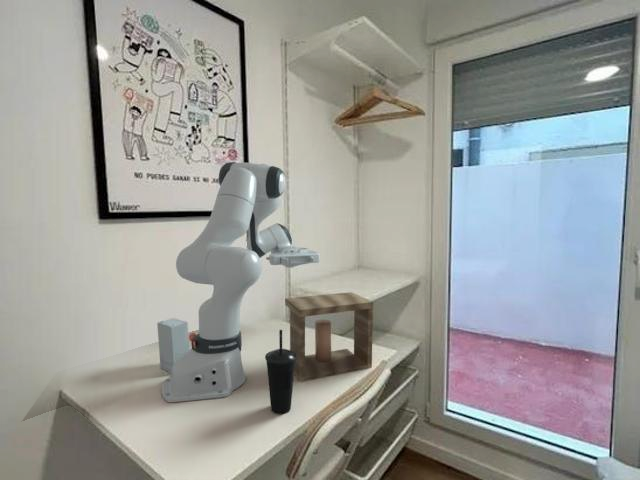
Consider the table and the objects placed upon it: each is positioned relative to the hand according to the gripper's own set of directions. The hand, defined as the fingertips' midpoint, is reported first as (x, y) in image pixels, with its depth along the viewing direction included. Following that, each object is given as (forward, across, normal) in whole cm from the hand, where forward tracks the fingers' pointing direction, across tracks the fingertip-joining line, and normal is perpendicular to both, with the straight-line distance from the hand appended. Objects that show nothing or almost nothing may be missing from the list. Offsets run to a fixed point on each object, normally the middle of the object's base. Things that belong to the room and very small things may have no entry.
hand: (300, 261), depth 131 cm
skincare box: (+9, -45, +30) cm, 55 cm away
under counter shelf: (+25, 0, +30) cm, 39 cm away
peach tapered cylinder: (+22, 0, +29) cm, 36 cm away
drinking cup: (+43, -21, +30) cm, 57 cm away
